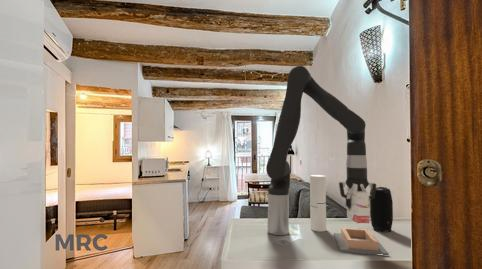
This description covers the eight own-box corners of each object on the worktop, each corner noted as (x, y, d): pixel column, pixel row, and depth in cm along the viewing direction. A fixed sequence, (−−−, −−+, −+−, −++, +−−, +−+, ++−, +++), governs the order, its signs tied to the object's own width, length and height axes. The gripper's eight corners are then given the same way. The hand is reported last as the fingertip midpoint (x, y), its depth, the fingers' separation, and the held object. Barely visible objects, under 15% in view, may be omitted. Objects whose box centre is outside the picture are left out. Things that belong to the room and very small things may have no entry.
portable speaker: (395, 233, 111) (394, 189, 112) (372, 231, 114) (371, 188, 115) (389, 227, 119) (388, 186, 120) (368, 226, 122) (367, 186, 123)
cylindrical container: (327, 232, 113) (326, 176, 114) (311, 230, 114) (310, 176, 116) (325, 227, 120) (324, 175, 121) (309, 226, 121) (309, 174, 123)
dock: (340, 251, 91) (340, 240, 92) (333, 235, 109) (333, 225, 109) (388, 256, 88) (388, 244, 88) (373, 238, 105) (373, 228, 106)
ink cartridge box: (370, 223, 95) (369, 184, 96) (357, 223, 94) (356, 184, 95) (358, 217, 103) (357, 181, 104) (346, 217, 103) (345, 181, 104)
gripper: (339, 166, 98) (339, 209, 97) (379, 167, 95) (380, 212, 94) (336, 165, 105) (337, 205, 104) (373, 166, 102) (374, 207, 101)
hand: (357, 208), depth 99 cm, fingers closed on ink cartridge box, 6 cm apart
